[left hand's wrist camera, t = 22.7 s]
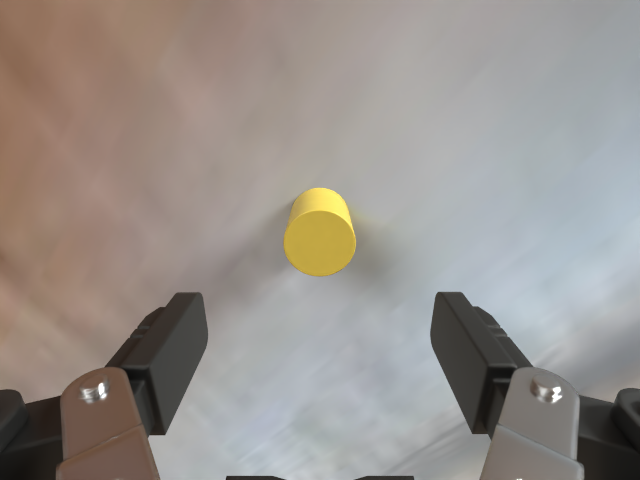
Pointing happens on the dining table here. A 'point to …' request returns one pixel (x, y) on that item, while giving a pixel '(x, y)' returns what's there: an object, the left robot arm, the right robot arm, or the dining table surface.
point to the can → (319, 233)
